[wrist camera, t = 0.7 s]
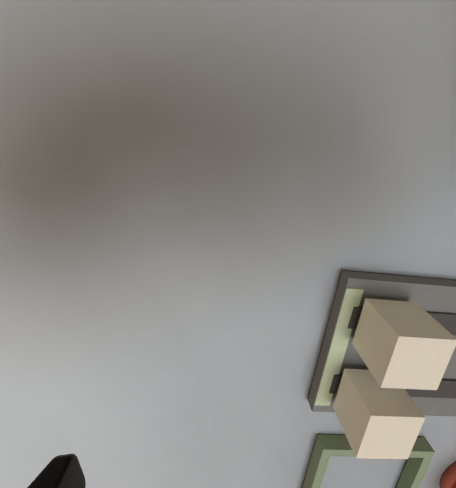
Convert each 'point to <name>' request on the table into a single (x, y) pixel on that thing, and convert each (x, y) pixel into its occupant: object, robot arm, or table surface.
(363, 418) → the toggle
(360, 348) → the toggle
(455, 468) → the cap
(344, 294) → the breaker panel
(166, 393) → the table surface
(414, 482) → the frame
